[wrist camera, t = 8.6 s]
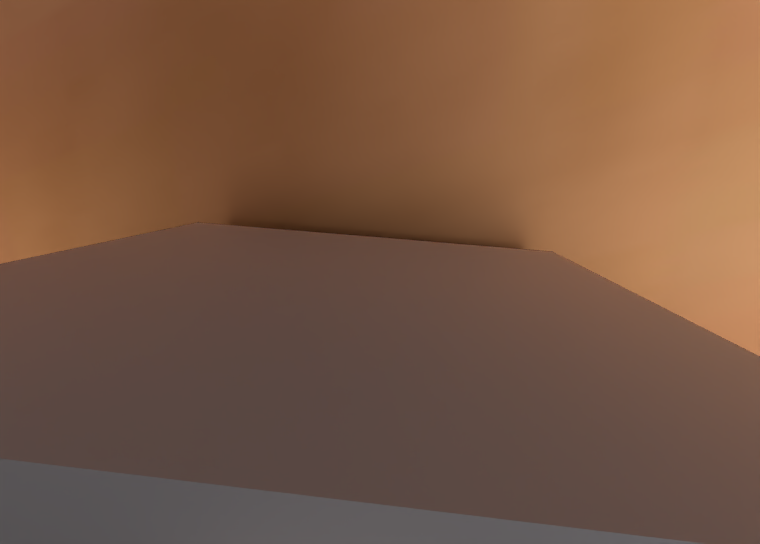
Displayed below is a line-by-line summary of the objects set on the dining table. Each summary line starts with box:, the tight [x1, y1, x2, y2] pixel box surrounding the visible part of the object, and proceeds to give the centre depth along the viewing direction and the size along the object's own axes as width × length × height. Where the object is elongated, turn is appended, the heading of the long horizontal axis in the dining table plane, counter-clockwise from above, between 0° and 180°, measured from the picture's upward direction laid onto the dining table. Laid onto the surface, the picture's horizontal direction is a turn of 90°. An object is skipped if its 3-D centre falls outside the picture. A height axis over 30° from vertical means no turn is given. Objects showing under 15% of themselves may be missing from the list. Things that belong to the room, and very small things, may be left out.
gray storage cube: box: [0, 222, 760, 544], centre depth 8 cm, size 10×10×9 cm
